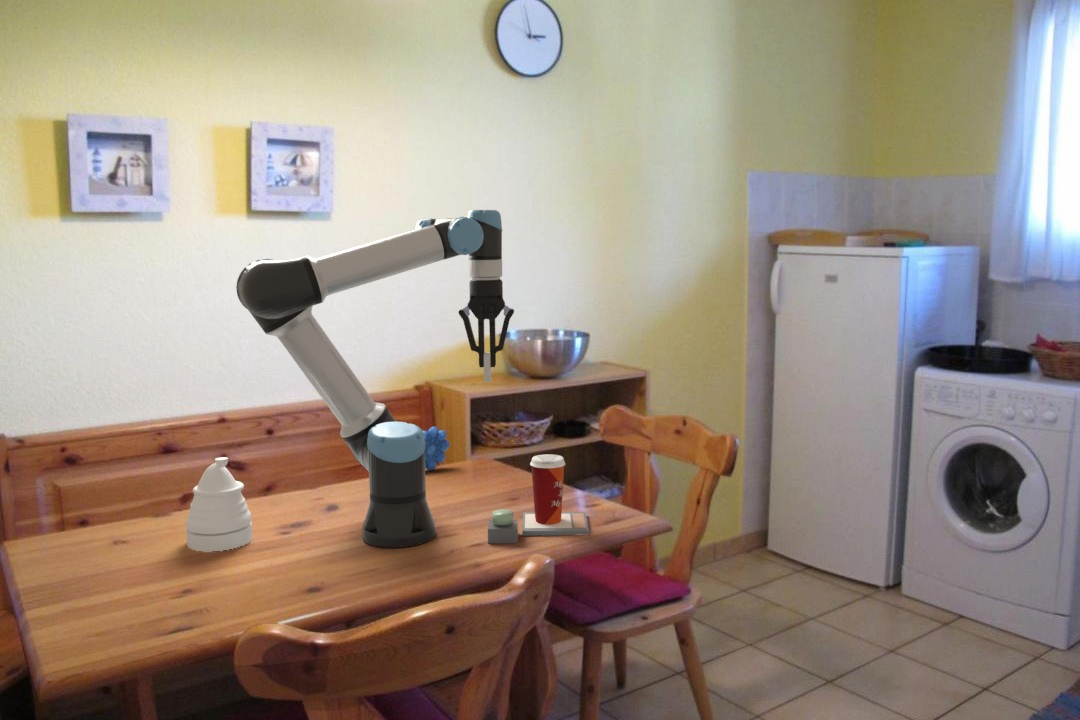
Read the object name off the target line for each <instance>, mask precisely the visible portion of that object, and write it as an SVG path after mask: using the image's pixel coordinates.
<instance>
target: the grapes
mask: <svg viewBox="0 0 1080 720" xmlns="http://www.w3.org/2000/svg"><path fill="white" fill-rule="evenodd" d="M422 431H423V434H424V440H425V469H426V470H427V471H434V470H435V469H436V467H437V466H438V464H437V463H443V462H444V461H445V460H446V455H447V454H446V453H445V452H446V451H448V450H449V448H450V442H449V440H448V439H447V437H448V435H447V431H446V430H444V429H443V430H442V429H441V430H439V429H438V427H437V426H431V427H430V428H428V431H427V430H422Z"/></svg>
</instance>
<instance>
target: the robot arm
mask: <svg viewBox="0 0 1080 720" xmlns="http://www.w3.org/2000/svg"><path fill="white" fill-rule="evenodd" d="M502 225H503V223H502V216H501V213H500V212H499V211H498V210H496V209H471V210H468V212H467V216H459V217H452V218H451V217H450V218H422V219H420V220H418V221H417V223H416V225H415V230H412V231H407V232H403V233H401V234H398V235H393V236H389V237H387V238H383V239H380V240H376V241H372V242H370V243H366V244H363V245H358V246H356V247H352V248H349V249H348V248H347V249H346V250H342V251H338V252H336V253H331V254H329V255H324V256H322V257H318V258H313V257H311V256H309V255H306V256H302V257H299V258H295V259H287V260H276V259H271V258H261V259H257V260H255V261H253V262H250V263H249V264H248V265H246V266H245V267H244V268H243V269H242V270H241V272H240V273H239V275H238V277H237V281H236V285H235V286H236V287H235V288H236V293H237V298H238V300H239V302H240V303H241V305H242V306H243V307H244V308H245V309H247V311H248V312H249V313H250V314H251V316H252V317H253V318H254V320H255V322H257V324H258V325H259V326H260V328H261V329H262V331H263V332H264V333H265V335H268V336H275V337H276V338H278V340H279V341H280V343H281V344H282V345H283V347H284V348H285V350H286V351H287V352H288V354H289V355H290V356H291V358H292V359H293V361H294V362H295V363H296V364H297V366H298V368H300V370H301V372H302V373H303V374H304V376H305V377H306V379H307V380H308V381H309V382H310V384H311V385H312V387H313V388H314V389H315V390H316V392H317V393H318V394H319V396H320V397H321V398H322V400H323V402H324V403H325V405H327V407H328V409H329V410H330V411H331V413H332V414H333V415H334V416H335V418H336V419H337V421H338V422H339V423H340V425H341V428H340V432H339V435H340V436H341V438H342V439H343V441H344V442H345V443H346V445H347V446H348V447H349V449H350V451H351V452H352V455H353V457H354V458H355V459H356V461H357V462H358V463H359V464H360V465H361V466H363V467H364V468H365V470H367V472H368V478H369V479H368V481H369V482H368V484H369V487H368V488H369V504H368V508H367V510H366V511H367V512H366V513H365V514H366V515H365V518H364V522H363V525H362V540H363V541H364V543H366V544H368V545H370V546H375V547H378V548H379V547H380V548H390V549H391V548H392V549H393V548H408V547H413V546H417V545H421V544H424V543H427V542H429V541H431V540H432V539H434V538H435V537H436V524H435V520H434V518H433V515H432V512H431V509H430V507H429V503H428V501H427V492H426V489H427V488H426V487H427V486H426V468H425V440H424V434H423V431H424V430H422V428H420V426H418V425H416V424H413V423H408V422H405V421H397V420H396V418H395V417H394V416H393V414H392V413H391V412H390V410H389V409H388V408H387V406H386V405H385V404H384V403H382V402H377V401H376V402H375V401H374V399H373V398H372V396H370V394H369V392H368V391H367V389H365V387H364V385H363V384H362V383H361V382H360V380H359V379H358V377H357V376H356V374H355V373H354V372H353V370H352V369H351V367H350V366H349V364H348V363H347V361H346V360H345V359H344V357H343V356H342V354H341V353H340V352H339V350H338V349H337V348H336V346H335V345H334V343H333V342H332V340H331V339H330V338H329V336H328V335H327V333H326V332H325V330H324V329H323V328H322V326H321V324H319V322H318V321H317V319H316V318H315V317H314V315H313V314H312V313H313V312H312V311H313V306H316V305H319V304H322V303H324V302H325V299H326V298H327V297H328V296H331V295H334V294H337V293H340V292H343V291H344V292H345V291H346V290H351V289H354V288H357V287H359V286H362V285H363V286H364V285H366V284H369V283H370V284H371V283H372V282H376V281H379V280H383V279H386V278H389V277H392V276H395V275H398V274H401V273H402V274H403V273H405V272H409V271H411V270H414V269H418V268H421V267H424V266H428V265H430V264H434V263H438V262H441V261H443V260H447V259H450V258H451V259H452V258H454V257H458V256H467V255H468V273H469V275H468V277H469V278H471V279H470V281H469V284H468V285H469V299H468V302H467V305H466V306H465V307H463V308H461V309H460V310H458V314H459V316H460V318H461V319H462V321H463V324H464V329H465V332H466V336H467V340H468V343H469V348H470V350H471V351H472V352H476V353H478V366H479V368H483V382H484V383H491V382H492V368H496V365H497V357H496V356H497V355H496V354H497V353H498V352H501V351H503V349H504V346H505V341H506V338H507V334H508V329H509V324H510V320H511V318H512V317H513V315H514V313H515V309H514V308H511V307H509V306H507V305H506V302H505V299H504V298H503V297H504V296H503V295H504V294H503V293H504V291H503V283H504V282H503V280H502V279H501V278H502V277H503V257H502V256H503V255H502V254H503V253H502V252H503V247H502V246H503V245H502V244H503V241H502V240H503V238H502V237H503V226H502ZM470 311H471V312H472V314H473V316H474V317H475V318H476V319H477V327H478V328H477V329H478V330H477V333H478V334H477V335H478V338H477V339H478V343H477V342H476V339H475V336H474V331H473V328H472V324H471V321H470V317H469V316H470V315H471V314H470ZM502 311H503V316H505V317H504V319H503V324H502V328H501V332H500V337H499V342H498V345H497V343H496V342H497V341H496V319H497V318H498V317H499V315H500V313H502ZM485 320H488V321H489V352H485ZM477 344H478V345H477Z"/></svg>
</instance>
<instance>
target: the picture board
mask: <svg viewBox="0 0 1080 720" xmlns="http://www.w3.org/2000/svg"><path fill="white" fill-rule="evenodd" d="M521 531H522V534H521V535H522V537H525V536H527V537H528V536H529V537H530V536H533V537H535V536H537V535H541V536H564V535H563V534H567V535H566V536H575V535H574V534H589V535H590V529H589V523H588V518H587V513H586V511H562V513H561V521H560V522H559V523H557V524H550V525H546V524H540V523H537V522H536V520H535V511H533V512H531V511H530V512H529V511H527V512H525V511H524V512H523V513H522V530H521Z"/></svg>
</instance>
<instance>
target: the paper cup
mask: <svg viewBox="0 0 1080 720" xmlns="http://www.w3.org/2000/svg"><path fill="white" fill-rule="evenodd" d="M529 465H530V466H531V476H532V492H533V495H532V496H533V505H534V506H533V507H534V512H535V520H536V522H537V523H540V524H546V525H550V524H557V523H559V522H560V521H561V513H562V512H563V495H564V494H563V493H564V492H563V491H564V476H565V475H564V474H565V473H564V472H565V466H566V465H567V464H566V462H565V459H564V457H563V456H562V455H559V454H552V453H551V454H547V453H546V454H538V455H534V456H533V457H532V458H531V461H530V463H529Z"/></svg>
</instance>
